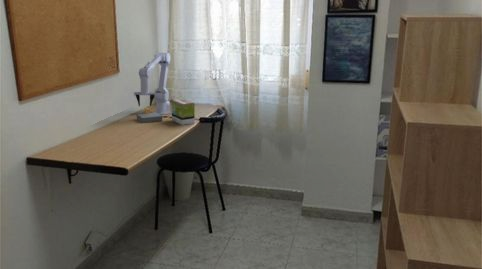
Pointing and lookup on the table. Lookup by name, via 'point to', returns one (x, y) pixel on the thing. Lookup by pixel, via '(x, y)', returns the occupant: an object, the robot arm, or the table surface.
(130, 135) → the table surface
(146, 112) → the carton lid
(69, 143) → the table surface
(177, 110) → the tea box
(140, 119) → the carton
